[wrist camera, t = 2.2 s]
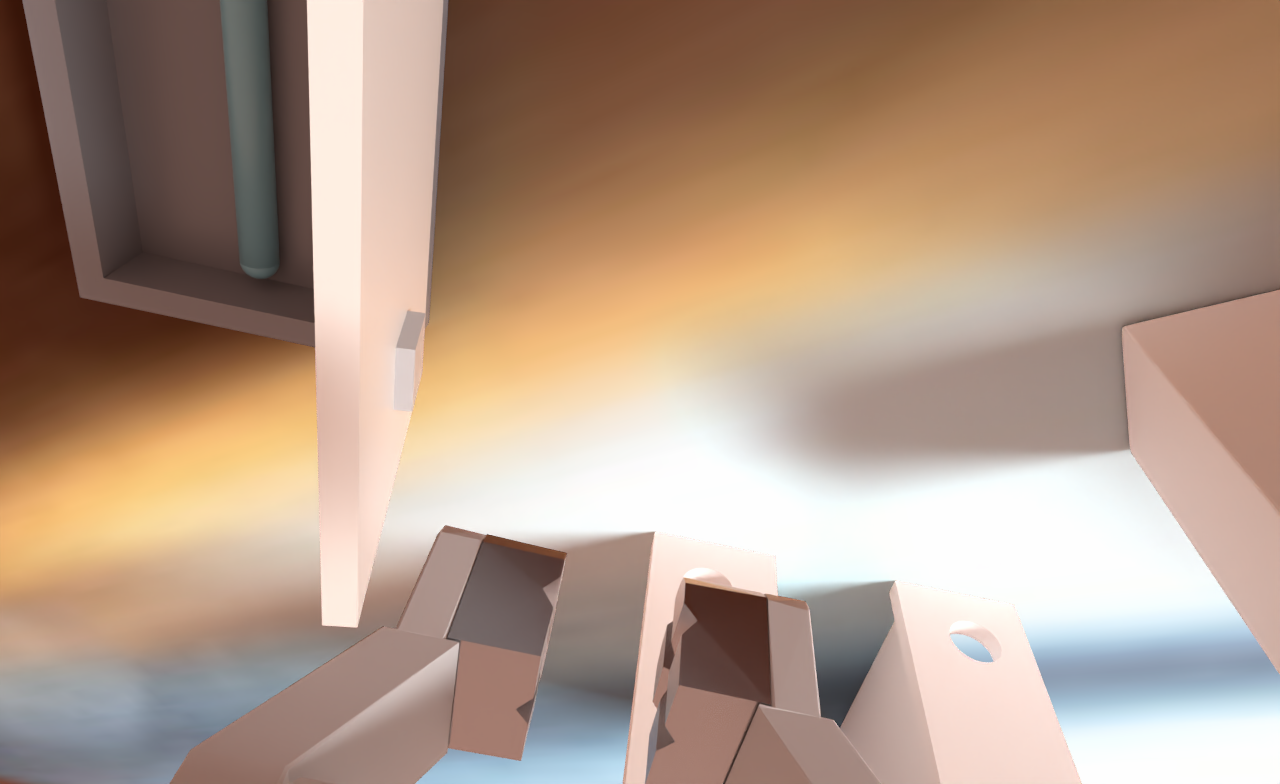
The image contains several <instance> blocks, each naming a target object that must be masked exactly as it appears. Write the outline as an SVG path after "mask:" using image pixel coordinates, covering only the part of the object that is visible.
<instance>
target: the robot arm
mask: <svg viewBox="0 0 1280 784" xmlns="http://www.w3.org/2000/svg"><path fill="white" fill-rule="evenodd" d="M566 556H567V553H564V552H560V551H556V550H552V549H547V548H543V547H539V546H535V545H530V544H526V543H522V542H518V541H513V540H509V539H505V538H501V537H496V536H492V535H488V534H487V535H483V534H479V533H475V532H471V531H467V530H463V529H459V528H455V527H450V526H446V525H445V526H444V527H443V529H442V530H441V531H440V532H439V533H438V535H437V537H436V539H435V542H434V544H433V546H432V548H431V551H430V553H429V555H428V557H427V560H426V562H425V564H424V566H423V569H422V571H421V573H420V575H419V578H418V580H417V582H416V584H415V587H414V589H413V591H412V593H411V596H410V598H409V600H408V602H407V605H406V607H405V609H404V611H403V614H402V616H401V618H400V620H399V623H398V625H397V627H396V629H395V628H389V627H384V626H383V627H381V628H380V629H378V630H377V631H375V632H373V633H372V634H370V635H369V636H367V637H366V638H364V639H363V640H361V641H359V642H358V643H356V644H355V645H353V646H352V647H350V648H348V649H347V650H345V651H344V652H342V653H341V654H339V655H338V656H336V657H334V658H333V659H331V660H330V661H328V662H327V663H325V664H324V665H322V666H320V667H319V668H317V669H316V670H314V671H313V672H311V673H309V674H308V675H306V676H305V677H303V678H302V679H300V680H299V681H297V682H295V683H294V684H292V685H291V686H289V687H288V688H286V689H285V690H283V691H281V692H280V693H278V694H277V695H275V696H274V697H272V698H270V699H269V700H267V701H266V702H264V703H263V704H261V705H260V706H258V707H256V708H255V709H253V710H252V711H250V712H249V713H247V714H246V715H244V716H242V717H241V718H239V719H238V720H236V721H235V722H233V723H232V724H230V725H228V726H227V727H225V728H224V729H222V730H221V731H219V732H217V733H216V734H214V735H213V736H211V737H210V738H208V739H207V740H205V741H203V742H202V743H200V744H199V745H197V746H196V747H194V748H193V749H191V750H190V752H189V753H188V755H187V756H186V758H185V760H184V761H183V763H182V764H181V766H180V768H179V769H178V771H177V773H176V774H175V776H174V777H173V779H172V781H171V782H170V784H415V783H416V782H417V781H418V780H419V779H420V778H421V777H422V776H423V775H424V774H425V773H426V772H428V771H429V770H430V769H431V768H432V767H433V766H434V765H435V764H436V763H437V762H438V761H439V760H440V759H441V758H442V757H443V756H444V755H445V754H446V753H447V749H448V748H451V749H456V750H462V751H468V752H474V753H479V754H485V755H491V756H496V757H502V758H508V759H513V760H519V761H521V758H522V754H523V750H524V746H525V742H526V738H527V734H528V730H529V726H530V722H531V718H532V714H533V709H534V705H535V700H536V695H537V690H538V685H539V680H540V679H541V676H542V671H543V667H544V663H545V658H546V654H547V650H548V645H549V641H550V636H551V632H552V627H553V622H554V618H555V613H556V608H557V603H558V601H557V599H558V595H559V591H560V586H561V582H562V578H563V573H564V567H565V561H566ZM653 703H654V705H655V707H656V708H657V712H656V715H655V718H654V721H653V724H652V728H651V731H650V734H649V744H648V755H647V766H646V778H645V784H881V783H880V782H879V780H878V779H877V778H876V776H875V775H874V774H873V772H872V771H871V770H870V768H869V767H868V766H867V764H866V763H865V762H864V760H863V759H862V758H861V756H860V755H859V754H858V752H857V751H856V749H855V748H854V747H853V745H852V744H851V743H850V741H849V740H848V739H847V737H846V736H845V735H844V733H843V732H842V731H841V729H840V728H839V727H838V725H837V724H836V723H835V721H834V720H831V719H827V718H823V717H821V712H820V703H819V693H818V684H817V674H816V665H815V656H814V646H813V637H812V627H811V618H810V608H809V607H808V605H807V603H806V602H805V601H801V600H796V599H791V598H786V597H781V596H776V595H771V594H766V593H765V594H764V595H763V594H762V593H760V592H755V591H750V590H745V589H740V588H735V587H730V586H725V585H720V584H715V583H710V582H705V581H700V580H695V579H690V578H685V577H683V579H682V581H681V583H680V585H679V589H678V592H677V595H676V598H675V605H674V616H673V621H672V622H671V623H669V624H668V625H667V627H666V631H665V635H664V638H663V642H662V646H661V650H660V655H659V659H658V664H657V670H656V677H655V684H654V693H653Z"/></svg>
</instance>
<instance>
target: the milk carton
mask: <svg viewBox="0 0 1280 784" xmlns="http://www.w3.org/2000/svg"><path fill="white" fill-rule="evenodd" d="M1122 346H1123V361H1124V375H1125V389H1126V404H1127V418H1128V432H1129V445H1130V450H1131V453H1132V455H1133V456H1134V458H1135V459H1136V461H1137V462H1138V464H1139V465H1140V467H1141V468H1142V470H1143V471H1144V473H1145V474H1146V476H1147V477H1148V479H1149V480H1150V482H1151V483H1152V485H1153V486H1154V488H1155V489H1156V491H1157V492H1158V494H1159V495H1160V497H1161V498H1162V500H1163V501H1164V503H1165V504H1166V506H1167V507H1168V508H1169V510H1170V511H1171V513H1172V514H1173V516H1174V517H1175V519H1176V520H1177V522H1178V523H1179V525H1180V526H1181V528H1182V529H1183V531H1184V532H1185V534H1186V535H1187V537H1188V538H1189V540H1190V541H1191V543H1192V544H1193V546H1194V547H1195V549H1196V550H1197V552H1198V553H1199V555H1200V556H1201V558H1202V559H1203V561H1204V562H1205V564H1206V565H1207V567H1208V568H1209V570H1210V571H1211V573H1212V574H1213V576H1214V577H1215V579H1216V580H1217V582H1218V583H1219V585H1220V586H1221V588H1222V589H1223V591H1224V592H1225V594H1226V595H1227V597H1228V598H1229V600H1230V601H1231V603H1232V604H1233V606H1234V607H1235V609H1236V610H1237V611H1238V613H1239V614H1240V616H1241V617H1242V619H1243V620H1244V622H1245V623H1246V625H1247V626H1248V628H1249V629H1250V631H1251V632H1252V634H1253V635H1254V637H1255V638H1256V640H1257V641H1258V643H1259V644H1260V646H1261V647H1262V649H1263V650H1264V652H1265V653H1266V655H1267V656H1268V658H1269V659H1270V661H1271V662H1272V664H1273V665H1274V667H1275V668H1276V670H1277V671H1278V673H1279V674H1280V290H1276V291H1272V292H1268V293H1263V294H1259V295H1255V296H1250V297H1246V298H1242V299H1238V300H1233V301H1229V302H1225V303H1220V304H1216V305H1212V306H1208V307H1203V308H1199V309H1195V310H1191V311H1186V312H1182V313H1178V314H1173V315H1169V316H1165V317H1161V318H1156V319H1152V320H1148V321H1144V322H1140V323H1135V324H1131V325H1127V326H1124V327H1123V328H1122Z"/></svg>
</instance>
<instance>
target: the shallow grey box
mask: <svg viewBox="0 0 1280 784" xmlns="http://www.w3.org/2000/svg"><path fill="white" fill-rule="evenodd" d="M22 1H23V6H24V11H25V16H26V22H27V27H28V32H29V37H30V42H31V47H32V52H33V58H34V63H35V68H36V73H37V78H38V83H39V89H40V94H41V99H42V104H43V109H44V114H45V119H46V125H47V130H48V135H49V140H50V145H51V150H52V156H53V161H54V166H55V171H56V176H57V181H58V186H59V192H60V197H61V202H62V207H63V212H64V217H65V223H66V228H67V233H68V238H69V243H70V248H71V253H72V259H73V264H74V269H75V274H76V279H77V284H78V290H79V295H80V297H81V298H86V299H90V300H95V301H100V302H104V303H109V304H114V305H119V306H123V307H128V308H133V309H137V310H142V311H147V312H152V313H156V314H161V315H166V316H170V317H175V318H180V319H184V320H189V321H194V322H199V323H203V324H208V325H213V326H217V327H222V328H227V329H232V330H236V331H241V332H246V333H250V334H255V335H260V336H264V337H269V338H274V339H279V340H283V341H288V342H293V343H297V344H302V345H307V346H312V347H315V314H314V272H313V231H312V190H311V148H310V107H309V65H308V24H307V0H22ZM447 14H448V0H443V17H442V34H441V51H440V69H439V86H438V104H437V121H436V139H435V156H434V173H433V191H432V208H431V226H430V243H429V261H428V278H427V296H426V316H425V328H426V326H427V325H428V323H429V312H430V296H431V279H432V263H433V246H434V229H435V213H436V196H437V180H438V163H439V146H440V130H441V113H442V97H443V80H444V63H445V47H446V30H447Z"/></svg>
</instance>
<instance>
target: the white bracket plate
mask: <svg viewBox="0 0 1280 784" xmlns="http://www.w3.org/2000/svg"><path fill="white" fill-rule="evenodd" d="M683 577H685V578H690V579H695V580H700V581H705V582H710V583H715V584H720V585H725V586H730V587H735V588H740V589H745V590H750V591H755V592H760V593H762V594H763V595H764V594H765V593H766V594H771V595H776V596H778V590H777V573H776V556H774V555H769V554H764V553H759V552H754V551H749V550H744V549H739V548H734V547H730V546H725V545H720V544H715V543H710V542H705V541H700V540H695V539H690V538H685V537H680V536H676V535H671V534H666V533H661V532H656V531H655V534H654V537H653V541H652V546H651V554H650V562H649V571H648V579H647V587H646V595H645V604H644V612H643V620H642V629H641V637H640V645H639V653H638V662H637V670H636V678H635V686H634V695H633V703H632V711H631V720H630V728H629V736H628V744H627V753H626V761H625V769H624V778H623V784H645V778H646V766H647V755H648V744H649V734H650V731H651V728H652V724H653V721H654V718H655V715H656V712H657V708H656V707H655V705H654V703H653V693H654V684H655V677H656V670H657V664H658V659H659V655H660V650H661V646H662V642H663V638H664V635H665V631H666V627H667V625H668V624H669V623H671V622H672V621H673V616H674V605H675V598H676V595H677V592H678V589H679V585H680V583H681V581H682V579H683ZM889 596H890V600H891V605H892V610H893V615H894V619H895V621H894V623H893V625H892V626H891V628H890V630H889V632H888V634H887V636H886V638H885V640H884V642H883V644H882V646H881V648H880V650H879V652H878V654H877V656H876V658H875V660H874V662H873V664H872V666H871V668H870V670H869V672H868V674H867V676H866V678H865V680H864V682H863V684H862V686H861V688H860V690H859V692H858V694H857V695H856V697H855V699H854V701H853V703H852V705H851V707H850V709H849V711H848V713H847V715H846V717H845V719H844V721H843V723H842V725H841V727H840V729H841V731H842V732H843V733H844V735H845V736H846V737H847V739H848V740H849V741H850V743H851V744H852V745H853V747H854V748H855V749H856V751H857V752H858V754H859V755H860V756H861V758H862V759H863V760H864V762H865V763H866V764H867V766H868V767H869V768H870V770H871V771H872V772H873V774H874V775H875V776H876V778H877V779H878V780H879V782H880V783H881V784H1082V783H1081V780H1080V777H1079V775H1078V772H1077V769H1076V767H1075V764H1074V762H1073V759H1072V756H1071V754H1070V751H1069V748H1068V746H1067V743H1066V740H1065V738H1064V735H1063V732H1062V730H1061V727H1060V724H1059V722H1058V719H1057V716H1056V714H1055V711H1054V708H1053V706H1052V703H1051V701H1050V698H1049V695H1048V693H1047V690H1046V687H1045V685H1044V682H1043V679H1042V677H1041V674H1040V671H1039V669H1038V666H1037V663H1036V661H1035V658H1034V655H1033V653H1032V650H1031V647H1030V645H1029V642H1028V640H1027V637H1026V634H1025V632H1024V629H1023V626H1022V624H1021V621H1020V618H1019V616H1018V613H1017V610H1016V608H1015V605H1014V604H1009V603H1004V602H999V601H995V600H990V599H985V598H980V597H975V596H970V595H965V594H960V593H955V592H950V591H945V590H941V589H936V588H931V587H926V586H921V585H916V584H911V583H906V582H901V581H896V580H895V582H894V584H893V586H892V588H891V590H890V592H889ZM950 634H963V635H966V636H969V637H971V638H973V639H975V640H977V641H978V642H980V643H981V644H982V645H983V646H984V647H985V648H986V649H987V650H988V651H989V653H990V654H991V656H992V658H993V662H990V663H985V662H980V661H976V660H974V659H972V658H970V657H968V656H966V655H965V654H964V653H962V652H961V651H960V650H959V649H958V648H957V647H956V646H955V644H954V643H953V642H952V639H951V637H950Z"/></svg>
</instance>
